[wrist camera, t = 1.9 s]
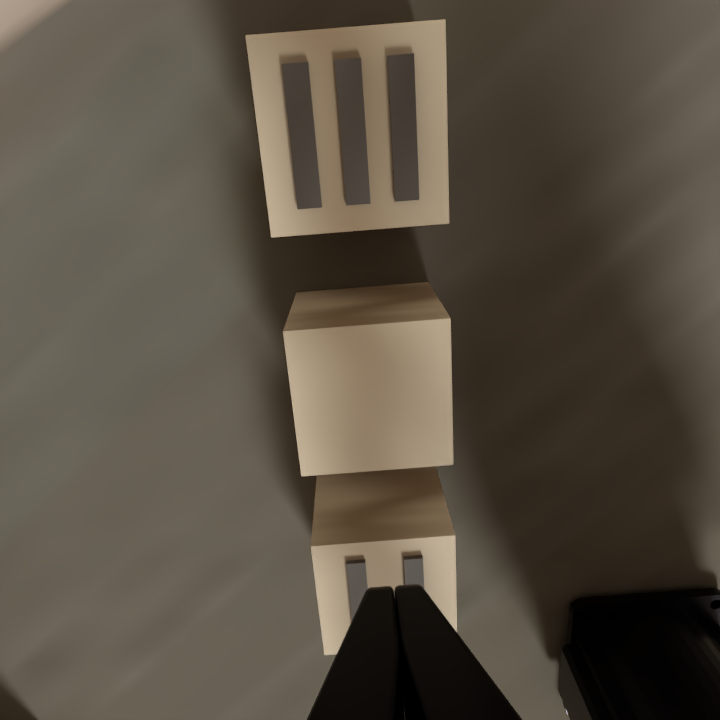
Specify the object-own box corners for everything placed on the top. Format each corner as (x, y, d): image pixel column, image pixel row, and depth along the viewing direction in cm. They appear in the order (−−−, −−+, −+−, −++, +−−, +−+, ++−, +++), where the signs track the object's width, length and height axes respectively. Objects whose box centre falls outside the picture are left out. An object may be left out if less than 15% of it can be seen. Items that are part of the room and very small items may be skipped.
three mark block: (420, 50, 17) (446, 18, 13) (425, 206, 19) (450, 224, 14) (270, 62, 17) (244, 33, 13) (287, 217, 19) (270, 238, 14)
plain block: (427, 281, 19) (450, 318, 15) (431, 401, 21) (453, 464, 17) (296, 291, 19) (282, 331, 15) (310, 410, 21) (301, 476, 17)
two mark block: (433, 460, 22) (456, 538, 18) (436, 555, 23) (457, 648, 19) (317, 469, 22) (310, 549, 18) (327, 563, 23) (324, 659, 19)
